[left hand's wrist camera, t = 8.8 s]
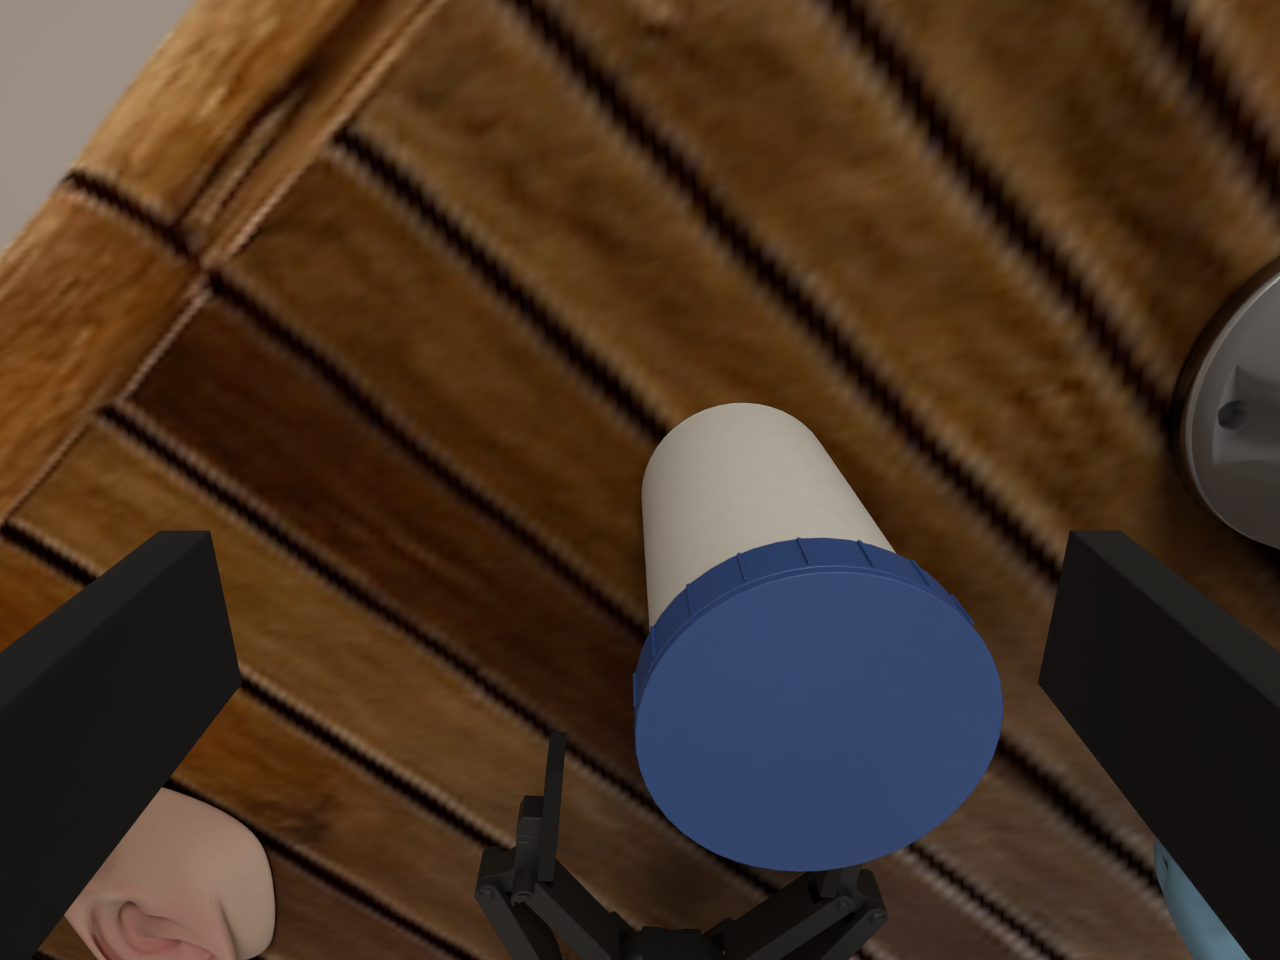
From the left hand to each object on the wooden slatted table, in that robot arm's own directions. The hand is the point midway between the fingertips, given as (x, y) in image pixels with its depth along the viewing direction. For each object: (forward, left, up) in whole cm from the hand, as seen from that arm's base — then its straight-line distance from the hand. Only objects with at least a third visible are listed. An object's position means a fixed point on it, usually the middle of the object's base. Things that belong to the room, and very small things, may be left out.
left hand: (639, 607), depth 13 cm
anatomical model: (-2, +42, -25) cm, 49 cm away
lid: (-10, +3, -8) cm, 13 cm away
